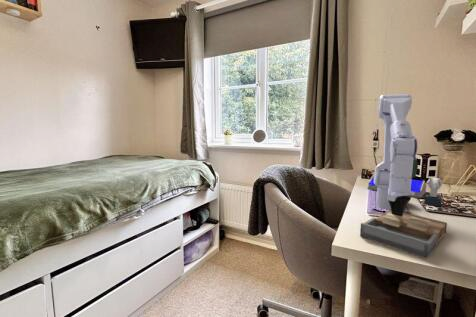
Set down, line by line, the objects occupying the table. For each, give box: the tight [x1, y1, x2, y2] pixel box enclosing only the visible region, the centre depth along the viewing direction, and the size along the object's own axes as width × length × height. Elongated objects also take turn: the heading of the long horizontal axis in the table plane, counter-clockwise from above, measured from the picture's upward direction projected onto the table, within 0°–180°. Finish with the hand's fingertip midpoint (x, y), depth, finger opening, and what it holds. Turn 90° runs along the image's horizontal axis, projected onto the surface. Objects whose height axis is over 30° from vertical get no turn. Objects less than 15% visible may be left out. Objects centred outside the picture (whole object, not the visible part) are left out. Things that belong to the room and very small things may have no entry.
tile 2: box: [407, 217, 430, 231], centre depth 76 cm, size 4×4×2 cm
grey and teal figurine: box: [423, 177, 443, 207], centre depth 106 cm, size 6×8×11 cm
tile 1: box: [382, 213, 404, 227], centre depth 79 cm, size 4×4×2 cm
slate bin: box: [359, 217, 438, 259], centre depth 73 cm, size 9×17×4 cm, turn 41°
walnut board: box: [375, 210, 448, 245], centre depth 81 cm, size 14×16×3 cm
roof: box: [367, 173, 427, 199], centre depth 126 cm, size 22×14×7 cm, turn 45°
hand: (396, 218), depth 81 cm, fingers closed
